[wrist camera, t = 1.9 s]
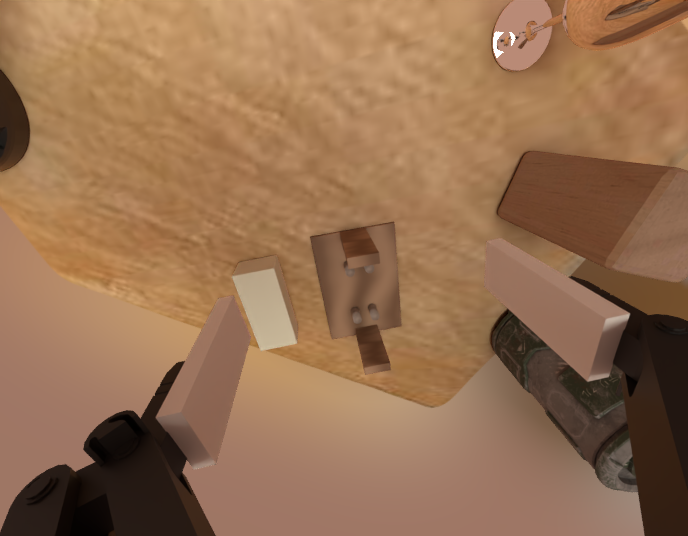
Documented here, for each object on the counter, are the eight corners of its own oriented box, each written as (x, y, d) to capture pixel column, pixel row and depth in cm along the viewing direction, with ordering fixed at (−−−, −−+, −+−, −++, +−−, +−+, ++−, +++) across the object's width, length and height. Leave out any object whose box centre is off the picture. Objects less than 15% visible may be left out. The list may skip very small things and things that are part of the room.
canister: (479, 320, 55) (620, 480, 30) (559, 280, 53) (781, 418, 28) (500, 369, 62) (629, 534, 37) (571, 336, 60) (759, 487, 35)
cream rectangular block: (264, 331, 51) (260, 351, 47) (239, 261, 45) (231, 276, 40) (298, 324, 51) (297, 343, 47) (277, 254, 45) (273, 268, 41)
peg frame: (331, 337, 53) (336, 380, 44) (310, 236, 44) (310, 265, 35) (400, 324, 54) (419, 364, 45) (393, 222, 44) (414, 246, 36)
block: (523, 149, 42) (683, 166, 24) (578, 165, 44) (764, 192, 26) (492, 215, 46) (609, 272, 28) (544, 227, 48) (684, 287, 30)
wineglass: (500, -11, 33) (721, -167, 16) (561, -3, 34) (835, -143, 16) (483, 70, 37) (647, 18, 19) (539, 75, 38) (745, 29, 20)
